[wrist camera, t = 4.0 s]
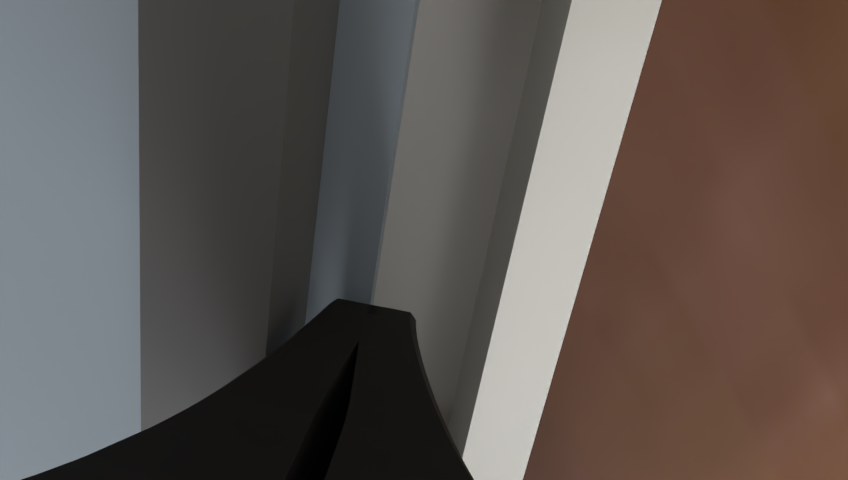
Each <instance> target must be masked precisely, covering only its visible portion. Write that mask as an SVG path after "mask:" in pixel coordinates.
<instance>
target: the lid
mask: <svg viewBox="0 0 848 480" xmlns="http://www.w3.org/2000/svg"><path fill="white" fill-rule="evenodd" d="M419 1H420V0H0V480H22V479H24V478H27V477H30V476H33V475H36V474H39V473H42V472H45V471H47V470H50V469H53V468H55V467H58V466H61V465H63V464H66V463H69V462H71V461H74V460H77V459H79V458H82V457H84V456H87V455H89V454H91V453H94V452H96V451H98V450H100V449H103V448H105V447H107V446H109V445H112V444H114V443H116V442H118V441H121V440H123V439H125V438H127V437H130V436H132V435H134V434H136V433H139V432H141V431H143V430H146V429H148V428H150V427H152V426H154V425H156V424H158V423H160V422H162V421H164V420H166V419H168V418H170V417H172V416H174V415H176V414H178V413H179V412H181V411H183V410H185V409H187V408H189V407H190V406H192V405H194V404H195V403H197V402H199V401H201V400H202V399H204V398H205V397H207V396H209V395H210V394H212V393H214V392H215V391H217V390H218V389H220V388H222V387H223V386H224V385H226V384H227V383H229V382H230V381H232V380H233V379H235V378H236V377H238V376H239V375H241V374H242V373H244V372H245V371H247V370H248V369H250V368H251V367H252V366H254V365H255V364H257V363H258V362H260V361H261V360H262V359H264V358H265V357H266V356H267V355H269V354H270V353H271V352H273V351H274V350H275V349H277V348H278V347H279V346H280V345H282V344H283V343H284V342H286V341H287V340H288V339H289V338H291V337H292V336H293V335H294V334H295V333H297V332H298V331H299V330H300V329H301V328H303V327H304V326H305V325H306V324H307V323H308V322H310V321H311V320H312V319H313V318H314V317H315V316H316V315H318V314H319V313H320V312H321V311H322V310H323V309H324V308H325V307H326V306H327V305H328V304H330V303H331V302H333V301H334V300H336V299H338V298H339V299H344V300H350V301H355V302H360V303H365V304H371V305H373V302H374V295H375V288H376V282H377V275H378V269H379V262H380V256H381V249H382V243H383V236H384V230H385V223H386V217H387V210H388V203H389V197H390V190H391V184H392V177H393V171H394V164H395V158H396V151H397V145H398V138H399V131H400V125H401V118H402V112H403V105H404V99H405V92H406V86H407V79H408V73H409V66H410V60H411V53H412V46H413V40H414V33H415V27H416V20H417V14H418V7H419Z"/></svg>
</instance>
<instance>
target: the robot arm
mask: <svg viewBox="0 0 848 480" xmlns="http://www.w3.org/2000/svg"><path fill="white" fill-rule="evenodd" d="M22 480H474V479H473V477H472V475H471V473H470V472H469V470H468V468H467V467H466V465H465V463H464V461H463V459H462V457H461V455H460V453H459V451H458V449H457V447H456V445H455V443H454V441H453V439H452V437H451V435H450V433H449V430H448V428H447V426H446V424H445V422H444V419H443V417H442V415H441V412H440V410H439V407H438V405H437V402H436V400H435V397H434V394H433V391H432V388H431V386H430V383H429V380H428V377H427V374H426V371H425V368H424V364H423V361H422V357H421V353H420V349H419V344H418V339H417V333H416V319H415V318H414V316H413V315H412V314H411V312H407V311H402V310H397V309H392V308H386V307H381V306H376V305H371V304H365V303H360V302H355V301H350V300H344V299H339V298H338V299H336V300H334V301H333V302H331V303H330V304H328V305H327V306H326V307H325V308H324V309H323V310H322V311H321V312H320V313H319V314H318V315H316V316H315V317H314V318H313V319H312V320H311V321H310V322H308V323H307V324H306V325H305V326H304V327H303V328H301V329H300V330H299V331H298V332H297V333H295V334H294V335H293V336H292V337H291V338H289V339H288V340H287V341H286V342H284V343H283V344H282V345H280V346H279V347H278V348H277V349H275V350H274V351H273V352H271V353H270V354H269V355H267V356H266V357H265V358H264V359H262V360H261V361H260V362H258V363H257V364H255V365H254V366H252V367H251V368H250V369H248V370H247V371H245V372H244V373H242V374H241V375H239V376H238V377H236V378H235V379H233V380H232V381H230V382H229V383H227V384H226V385H224V386H223V387H222V388H220V389H218V390H217V391H215V392H214V393H212V394H210V395H209V396H207V397H205V398H204V399H202V400H201V401H199V402H197V403H195V404H194V405H192V406H190V407H189V408H187V409H185V410H183V411H181V412H179V413H178V414H176V415H174V416H172V417H170V418H168V419H166V420H164V421H162V422H160V423H158V424H156V425H154V426H152V427H150V428H148V429H146V430H143V431H141V432H139V433H136V434H134V435H132V436H130V437H127V438H125V439H123V440H121V441H118V442H116V443H114V444H112V445H109V446H107V447H105V448H103V449H100V450H98V451H96V452H94V453H91V454H89V455H87V456H84V457H82V458H79V459H77V460H74V461H71V462H69V463H66V464H63V465H61V466H58V467H55V468H53V469H50V470H47V471H45V472H42V473H39V474H36V475H33V476H30V477H27V478H24V479H22Z"/></svg>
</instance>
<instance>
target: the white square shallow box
mask: <svg viewBox="0 0 848 480" xmlns="http://www.w3.org/2000/svg"><path fill="white" fill-rule="evenodd" d="M661 2H662V0H420V1H419V7H418V14H417V20H416V27H415V33H414V40H413V46H412V53H411V60H410V66H409V73H408V79H407V86H406V92H405V99H404V105H403V112H402V118H401V125H400V131H399V138H398V145H397V151H396V158H395V164H394V171H393V177H392V184H391V190H390V197H389V203H388V210H387V217H386V223H385V230H384V236H383V243H382V249H381V256H380V262H379V269H378V275H377V282H376V288H375V295H374V302H373V305H376V306H381V307H386V308H392V309H397V310H402V311H407V312H411V314H412V315H413V316H414V318H415V319H416V333H417V339H418V344H419V349H420V353H421V357H422V361H423V364H424V368H425V371H426V374H427V377H428V380H429V383H430V386H431V388H432V391H433V394H434V397H435V400H436V402H437V405H438V407H439V410H440V412H441V415H442V417H443V419H444V422H445V424H446V426H447V428H448V430H449V433H450V435H451V437H452V439H453V441H454V443H455V445H456V447H457V449H458V451H459V453H460V455H461V457H462V459H463V461H464V463H465V465H466V467H467V468H468V470H469V472H470V473H471V475H472V477H473V479H474V480H523V477H524V474H525V470H526V467H527V463H528V460H529V456H530V453H531V449H532V446H533V443H534V439H535V436H536V432H537V429H538V425H539V422H540V418H541V415H542V412H543V408H544V405H545V401H546V398H547V394H548V391H549V387H550V384H551V381H552V377H553V374H554V370H555V367H556V363H557V360H558V356H559V353H560V350H561V346H562V343H563V339H564V336H565V332H566V329H567V325H568V322H569V319H570V315H571V312H572V308H573V305H574V301H575V298H576V294H577V291H578V287H579V284H580V281H581V277H582V274H583V270H584V267H585V263H586V260H587V256H588V253H589V250H590V246H591V243H592V239H593V236H594V232H595V229H596V225H597V222H598V219H599V215H600V212H601V208H602V205H603V201H604V198H605V194H606V191H607V188H608V184H609V181H610V177H611V174H612V170H613V167H614V163H615V160H616V157H617V153H618V150H619V146H620V143H621V139H622V136H623V132H624V129H625V126H626V122H627V119H628V115H629V112H630V108H631V105H632V101H633V98H634V95H635V91H636V88H637V84H638V81H639V77H640V74H641V70H642V67H643V64H644V60H645V57H646V53H647V50H648V46H649V43H650V39H651V36H652V33H653V29H654V26H655V22H656V19H657V15H658V12H659V8H660V5H661Z"/></svg>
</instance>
